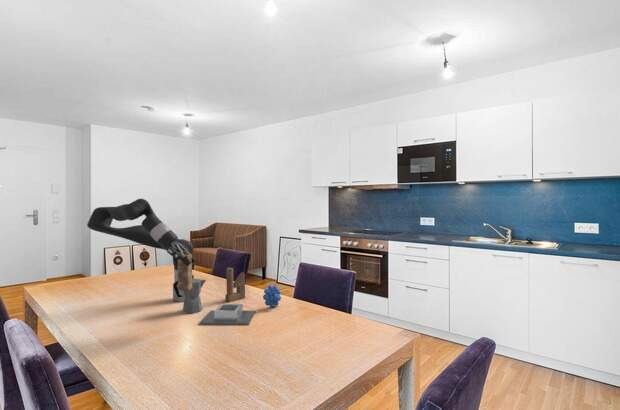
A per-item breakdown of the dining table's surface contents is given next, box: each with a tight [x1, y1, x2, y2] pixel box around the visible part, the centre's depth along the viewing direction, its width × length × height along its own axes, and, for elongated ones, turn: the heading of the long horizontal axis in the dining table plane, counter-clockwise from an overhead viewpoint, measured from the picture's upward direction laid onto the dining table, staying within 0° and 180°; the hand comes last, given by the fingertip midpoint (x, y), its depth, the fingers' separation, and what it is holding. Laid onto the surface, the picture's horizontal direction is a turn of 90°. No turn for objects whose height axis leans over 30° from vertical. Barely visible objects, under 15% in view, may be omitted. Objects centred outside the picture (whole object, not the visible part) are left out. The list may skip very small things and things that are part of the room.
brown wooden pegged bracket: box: [224, 267, 246, 303], centre depth 188 cm, size 4×11×18 cm, turn 137°
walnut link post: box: [178, 253, 193, 291], centre depth 148 cm, size 4×4×15 cm
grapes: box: [262, 284, 282, 309], centre depth 173 cm, size 12×7×12 cm, turn 138°
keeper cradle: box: [199, 303, 256, 326], centre depth 159 cm, size 22×16×5 cm
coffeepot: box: [172, 274, 207, 315], centre depth 169 cm, size 15×9×18 cm, turn 110°
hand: (191, 263), depth 148 cm, fingers closed on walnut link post, 4 cm apart
